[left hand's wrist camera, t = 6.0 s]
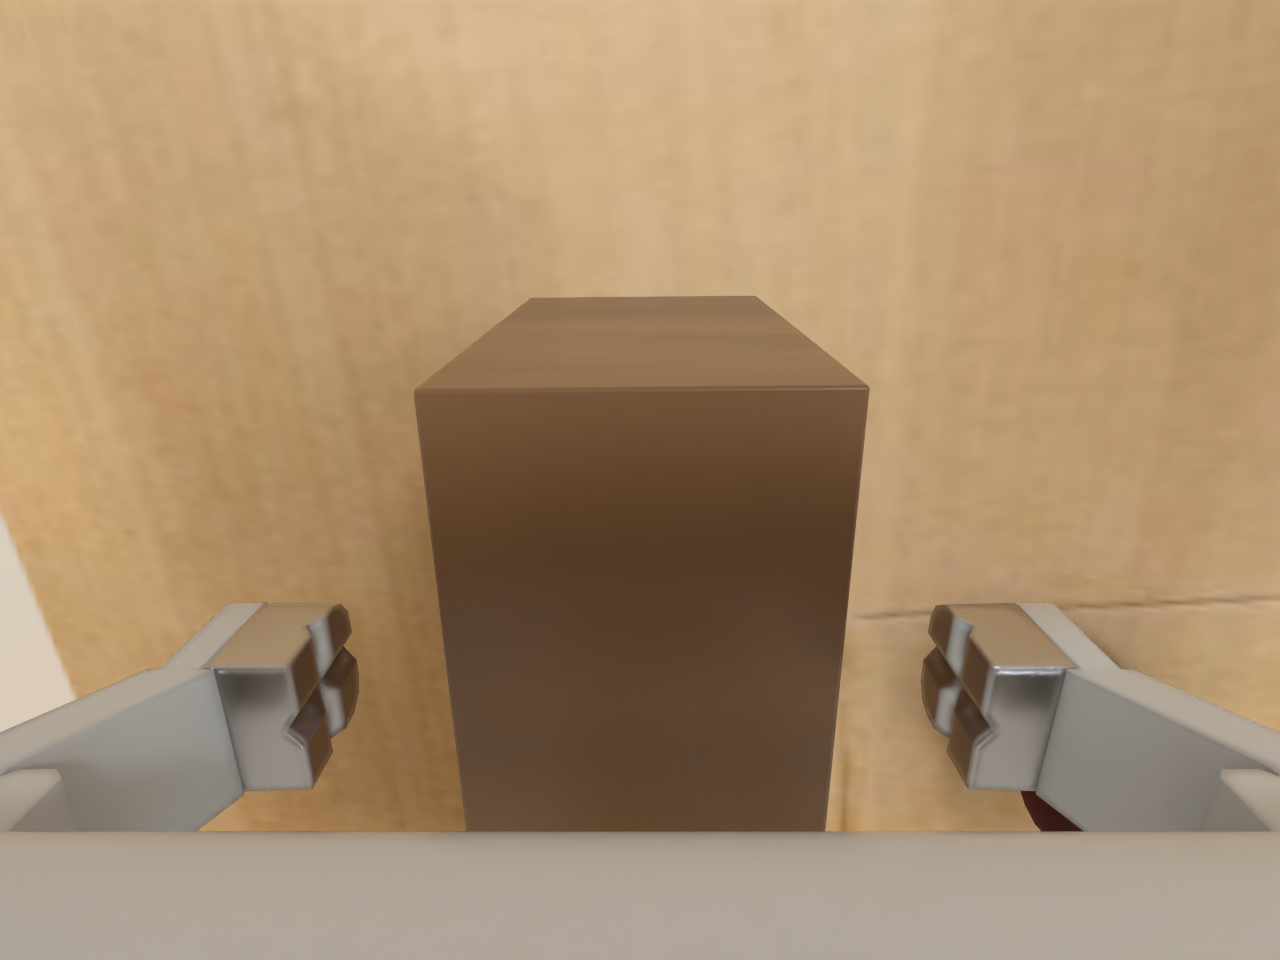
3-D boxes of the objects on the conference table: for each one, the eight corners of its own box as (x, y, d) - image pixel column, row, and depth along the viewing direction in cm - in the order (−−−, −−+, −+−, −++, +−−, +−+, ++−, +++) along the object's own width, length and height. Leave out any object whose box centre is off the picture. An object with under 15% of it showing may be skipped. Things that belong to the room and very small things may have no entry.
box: (529, 297, 18) (411, 390, 9) (756, 295, 18) (871, 385, 9) (574, 1041, 28) (539, 1455, 19) (724, 1041, 28) (763, 1456, 19)
